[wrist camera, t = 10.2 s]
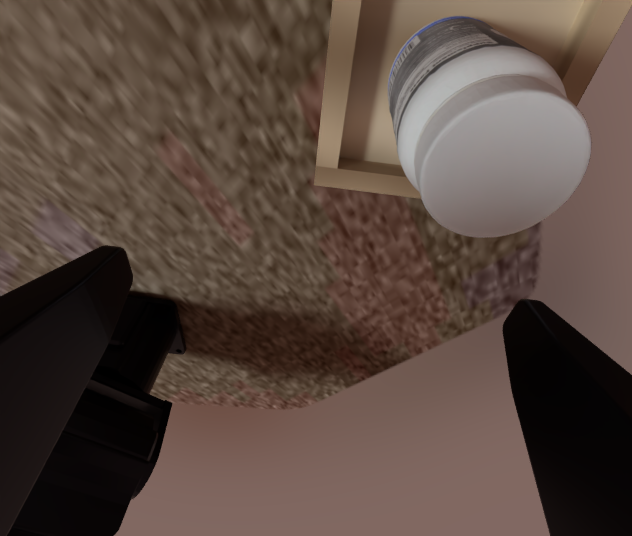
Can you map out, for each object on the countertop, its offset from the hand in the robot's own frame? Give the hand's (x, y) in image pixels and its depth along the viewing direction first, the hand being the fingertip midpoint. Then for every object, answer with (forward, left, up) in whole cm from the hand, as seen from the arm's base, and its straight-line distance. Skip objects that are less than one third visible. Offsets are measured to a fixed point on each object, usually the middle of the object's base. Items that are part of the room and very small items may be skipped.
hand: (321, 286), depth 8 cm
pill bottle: (+2, -4, -11) cm, 12 cm away
